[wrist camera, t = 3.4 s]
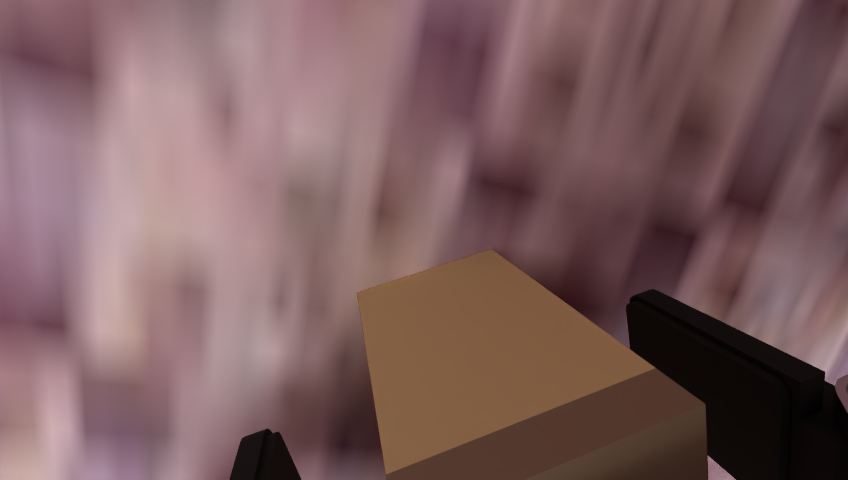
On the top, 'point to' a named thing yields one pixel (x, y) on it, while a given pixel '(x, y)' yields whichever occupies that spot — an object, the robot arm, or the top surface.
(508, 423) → the block
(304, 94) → the top surface
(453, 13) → the top surface
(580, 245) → the top surface
